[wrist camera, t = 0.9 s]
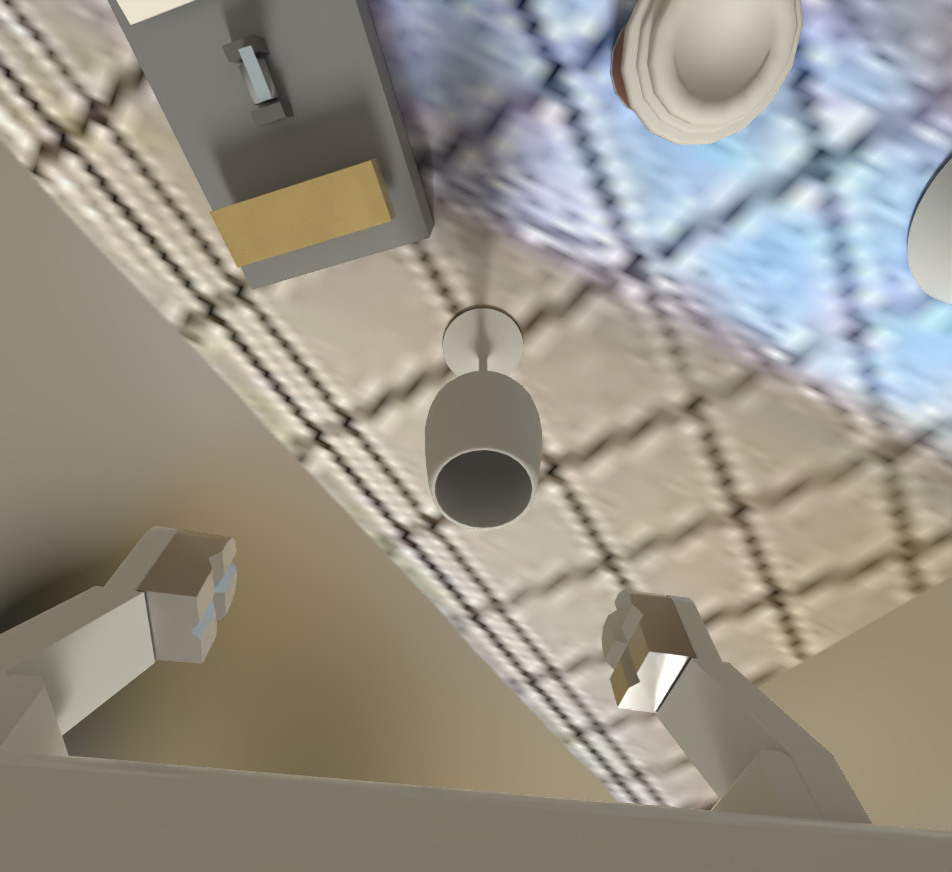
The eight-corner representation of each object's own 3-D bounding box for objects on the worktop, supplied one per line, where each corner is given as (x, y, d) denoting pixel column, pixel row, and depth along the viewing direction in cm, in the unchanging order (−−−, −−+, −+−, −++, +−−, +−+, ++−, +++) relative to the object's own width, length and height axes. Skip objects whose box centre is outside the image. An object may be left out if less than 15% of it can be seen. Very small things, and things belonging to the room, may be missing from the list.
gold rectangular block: (376, 157, 34) (370, 160, 32) (395, 215, 36) (391, 221, 34) (222, 207, 36) (209, 212, 34) (248, 260, 38) (237, 267, 36)
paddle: (265, 61, 33) (259, 43, 28) (279, 98, 34) (276, 87, 29) (239, 69, 33) (229, 51, 28) (255, 106, 34) (248, 95, 29)
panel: (311, -183, 31) (272, -250, 25) (434, 224, 42) (427, 243, 37) (102, -93, 33) (21, -136, 27) (274, 272, 44) (243, 296, 39)
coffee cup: (724, 120, 38) (811, 125, 28) (596, 150, 40) (636, 166, 29) (727, -44, 34) (833, -109, 24) (583, -4, 35) (625, -50, 25)
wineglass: (459, 291, 45) (444, 413, 27) (540, 325, 47) (576, 461, 29) (428, 367, 49) (397, 517, 31) (504, 396, 50) (516, 556, 32)
